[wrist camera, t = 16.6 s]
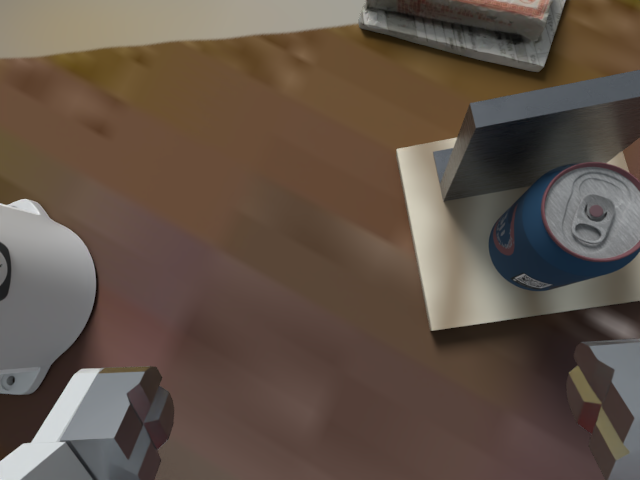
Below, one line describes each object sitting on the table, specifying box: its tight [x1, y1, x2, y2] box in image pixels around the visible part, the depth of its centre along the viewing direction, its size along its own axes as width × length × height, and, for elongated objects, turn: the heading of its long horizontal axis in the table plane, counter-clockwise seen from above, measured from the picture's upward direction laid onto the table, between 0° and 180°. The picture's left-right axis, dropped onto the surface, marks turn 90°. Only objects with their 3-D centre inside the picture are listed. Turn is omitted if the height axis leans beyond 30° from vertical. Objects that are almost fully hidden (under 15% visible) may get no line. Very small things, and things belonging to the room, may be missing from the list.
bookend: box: [433, 70, 640, 201], centre depth 31 cm, size 12×4×14 cm, turn 98°
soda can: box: [489, 162, 640, 291], centre depth 30 cm, size 7×7×12 cm
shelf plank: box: [396, 138, 640, 331], centre depth 38 cm, size 18×16×2 cm
